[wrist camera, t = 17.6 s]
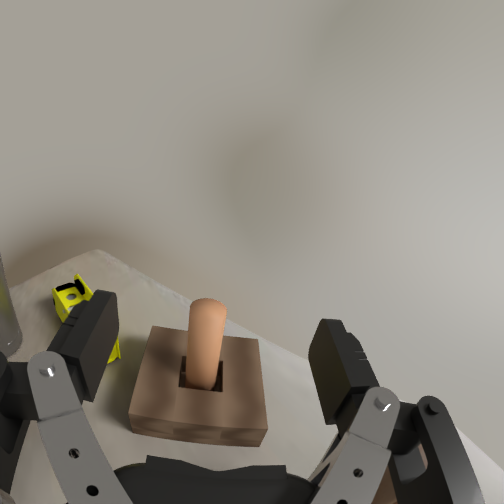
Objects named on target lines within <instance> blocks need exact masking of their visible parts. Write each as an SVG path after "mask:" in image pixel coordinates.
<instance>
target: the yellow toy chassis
mask: <svg viewBox="0 0 504 504" xmlns="http://www.w3.org/2000/svg"><path fill="white" fill-rule="evenodd" d="M79 280H80V281H81V282H80V281H79ZM74 281H75V284H74V283H67V284H64V285H61V286H58V287H57V288H56V289H55V288H53V289H52V294H53V298H54V299H53V302H54V305H55V308H56V312H57V314H58V316H59V317H60V319H61V321H62V322H64V321H65V319H66V318H67V317H68V314H69V313H70V311H71V310H72V308H73V307H74V306H75V305H77V304H78V303H79V302H81V301H82V300H87V301H89V300H90V299H91V297H92V295H93V293H92V292H91V290H90V289H89V288H88V287H87V285H86V284H85V283H84V281H83V280H82V279H81V277H80V276H79V275H78V274H76V275H75V276H74ZM117 357H118V358H119V359H121V356H120V349H119V342H118V337H117V340H116V342H115V345H114V347H113V350H112V352H111V355H110V357H109V360H108V362H107V364H108V363H110V362H112V361H114V360H115V359H116V358H117Z"/></svg>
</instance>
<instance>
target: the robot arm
mask: <svg viewBox="0 0 504 504" xmlns="http://www.w3.org/2000/svg"><path fill="white" fill-rule="evenodd" d="M118 332H119V319H118V308H117V297H116V293H114V292H109V291H103V290H98V289H97V290H96V291H95V292H94V294H93V295H92V297H91V299H90V300H89V301H87V300H82V301H81V302H79V303H78V304H77V305H75V306H74V307H73V308H72V310H71V311H70V313H69V314H68V317H67V318H66V319H65V321H64V322H63V325H62V326H61V327H60V329H59V330H58V332H57V334H56V335H55V337H54V339H53V340H52V342H51V344H50V345H49V347H48V349H47V351H44V352H40V353H38V354H36V355H34V356H33V357H32V358H31V359H30V361H29V362H8V361H7V359H6V357H8V356H10V355H12V354H13V353H14V352H15V351H16V350H17V349H18V348H19V346H20V344H21V342H22V332H21V329H20V326H19V323H18V320H17V317H16V314H15V310H14V307H13V304H12V300H11V297H10V293H9V289H8V286H7V281H6V277H5V273H4V269H3V264H2V259H1V254H0V504H15V502H14V500H13V498H12V497H11V496H10V490H11V486H12V482H13V477H14V473H15V470H16V466H17V462H18V459H19V455H20V452H21V448H22V445H23V442H24V439H25V436H26V433H27V430H28V427H29V424H30V421H31V420H37V424H38V428H39V432H40V435H41V438H42V441H43V444H44V447H45V449H46V452H47V455H48V458H49V460H50V463H51V465H52V468H53V470H54V473H55V475H56V477H57V480H58V482H59V484H60V487H61V489H62V491H63V493H64V495H65V497H66V499H67V501H68V502H67V503H66V504H371V503H372V501H373V498H374V496H375V494H376V492H377V489H378V487H379V484H380V482H381V480H382V477H383V475H384V472H385V469H386V467H387V465H388V468H389V472H390V476H391V479H392V483H393V487H394V491H395V495H396V499H397V503H398V504H485V501H484V498H483V495H482V492H481V489H480V487H479V484H478V481H477V478H476V476H475V473H474V471H473V468H472V466H471V463H470V461H469V458H468V456H467V453H466V451H465V448H464V446H463V444H462V441H461V439H460V437H459V435H458V432H457V430H456V428H455V426H454V424H453V421H452V419H451V417H450V415H449V413H448V411H447V409H446V407H445V405H444V404H443V403H442V402H441V401H440V400H439V399H437V398H435V397H433V396H424V397H422V398H421V399H420V400H419V402H418V403H417V404H411V403H405V402H400V401H399V399H398V398H397V396H396V395H395V394H394V393H393V392H392V391H390V390H389V389H386V388H384V387H380V386H379V383H378V381H377V379H376V377H375V374H374V372H373V370H372V368H371V366H370V363H369V361H368V360H367V357H366V355H365V353H364V352H363V348H362V346H361V344H360V342H359V341H358V340H357V339H356V338H355V336H354V335H353V334H352V333H347V332H346V330H345V327H344V325H343V323H342V321H341V320H335V319H322V320H321V321H320V323H319V325H318V328H317V330H316V333H315V335H314V338H313V340H312V343H311V345H310V348H309V354H308V358H309V363H310V367H311V371H312V374H313V378H314V382H315V385H316V389H317V393H318V397H319V400H320V404H321V408H322V412H323V416H324V419H325V423H326V425H332V424H337V428H338V432H337V434H336V435H335V437H334V439H333V441H332V442H331V444H330V446H329V448H328V449H327V451H326V453H325V455H324V456H323V458H322V460H321V461H320V463H319V465H318V466H317V468H316V469H315V470H314V472H313V473H312V474H311V476H310V477H309V478H308V479H307V480H306V479H304V478H301V477H299V476H296V475H293V474H289V473H287V472H286V465H270V466H254V465H253V466H248V467H243V468H237V469H232V470H226V471H212V470H209V469H206V468H203V467H199V466H196V465H193V464H190V463H187V462H184V461H182V460H175V459H168V458H162V457H156V456H150V455H147V458H146V463H136V464H131V465H127V466H123V467H121V468H118V469H116V470H114V471H113V470H112V468H111V466H110V464H109V463H108V461H107V459H106V457H105V455H104V453H103V451H102V449H101V447H100V445H99V443H98V441H97V439H96V437H95V435H94V433H93V431H92V429H91V427H90V425H89V422H88V420H87V418H86V416H85V413H84V411H83V409H82V406H81V405H82V403H83V400H86V401H89V402H93V401H94V398H95V395H96V392H97V389H98V387H99V384H100V381H101V378H102V376H103V373H104V370H105V368H106V365H107V362H108V360H109V357H110V355H111V352H112V350H113V347H114V345H115V342H116V340H117V337H118ZM420 444H422V447H423V450H424V453H425V455H426V458H427V462H428V465H427V469H426V468H425V465H424V462H423V459H422V456H421V453H420V450H419V448H418V446H419V445H420Z"/></svg>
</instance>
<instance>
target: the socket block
mask: <svg viewBox="0 0 504 504" xmlns="http://www.w3.org/2000/svg"><path fill="white" fill-rule="evenodd" d="M187 342H188V331H184V330H177V329H170V328H164V327H158V326H152V329H151V332H150V335H149V339H148V342H147V345H146V349H145V352H144V356H143V359H142V362H141V366H140V370H139V373H138V377H137V381H136V384H135V388H134V392H133V396H132V399H131V403H130V407H129V411H128V415H129V419H130V423H131V427H132V431H133V433H136V434H141V435H146V436H152V437H158V438H164V439H170V440H177V441H184V442H193V443H202V444H213V445H226V446H245V447H259V446H260V444H261V442H262V440H263V438H264V436H265V434H266V432H267V430H268V425H267V416H266V407H265V398H264V389H263V380H262V371H261V362H260V353H259V344H258V339H250V338H240V337H231V336H223V338H222V344H221V351H220V357H219V363H218V369H217V376H216V382H215V389H214V391H205V390H196V389H188V388H185V376H186V358H187Z"/></svg>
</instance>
